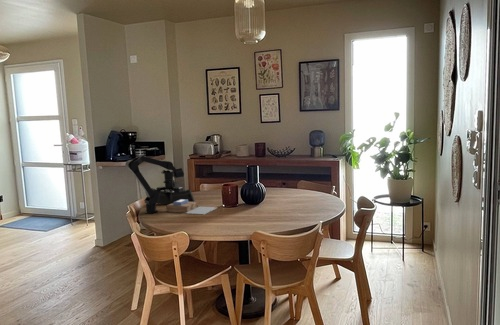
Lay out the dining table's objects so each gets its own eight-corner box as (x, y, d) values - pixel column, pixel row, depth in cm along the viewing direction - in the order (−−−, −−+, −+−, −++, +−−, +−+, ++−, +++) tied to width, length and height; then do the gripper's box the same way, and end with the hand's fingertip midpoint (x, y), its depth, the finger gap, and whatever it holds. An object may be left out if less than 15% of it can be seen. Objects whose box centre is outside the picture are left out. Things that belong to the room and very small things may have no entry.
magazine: (197, 190, 295) (157, 180, 294) (196, 190, 292) (156, 181, 291) (192, 212, 297) (152, 202, 296) (191, 213, 294) (151, 203, 293)
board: (187, 212, 265) (186, 206, 265) (167, 211, 272) (166, 205, 271) (198, 207, 278) (197, 201, 278) (178, 206, 285) (178, 200, 284)
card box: (181, 205, 270) (180, 202, 269) (173, 204, 272) (173, 201, 272) (188, 202, 278) (188, 199, 278) (181, 201, 280) (180, 199, 280)
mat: (204, 214, 258) (204, 214, 258) (185, 213, 264) (185, 212, 264) (217, 207, 274) (217, 207, 274) (199, 206, 280) (199, 206, 280)
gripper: (186, 177, 280) (188, 199, 282) (164, 177, 287) (166, 198, 289) (177, 180, 270) (179, 203, 272) (154, 179, 277) (156, 202, 279)
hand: (170, 201), depth 278 cm, fingers closed
